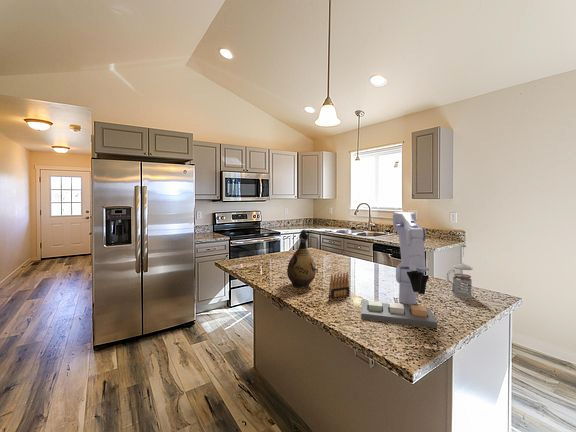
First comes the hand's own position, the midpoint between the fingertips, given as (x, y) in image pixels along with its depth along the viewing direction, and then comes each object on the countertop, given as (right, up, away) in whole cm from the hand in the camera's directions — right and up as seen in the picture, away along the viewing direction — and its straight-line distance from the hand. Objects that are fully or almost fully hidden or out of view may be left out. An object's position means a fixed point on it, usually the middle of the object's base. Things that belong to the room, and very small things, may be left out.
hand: (419, 293), depth 106 cm
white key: (-7, -10, +4) cm, 13 cm away
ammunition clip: (-25, -10, +27) cm, 38 cm away
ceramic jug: (-42, -9, +46) cm, 63 cm away
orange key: (+1, -10, +2) cm, 10 cm away
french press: (+35, -10, +32) cm, 49 cm away
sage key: (-15, -10, +7) cm, 19 cm away
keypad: (-7, -11, +4) cm, 14 cm away
